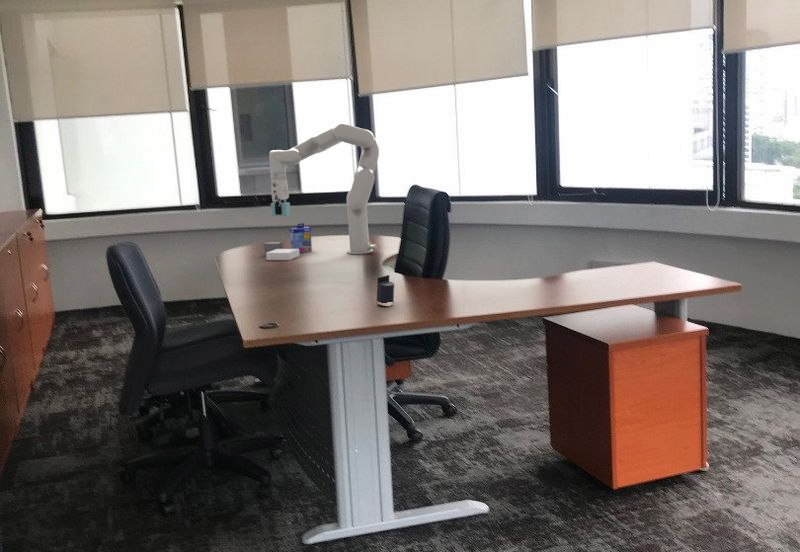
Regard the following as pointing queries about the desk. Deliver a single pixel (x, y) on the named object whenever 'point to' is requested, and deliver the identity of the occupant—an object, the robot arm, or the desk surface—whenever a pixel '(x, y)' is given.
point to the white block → (282, 254)
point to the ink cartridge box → (301, 238)
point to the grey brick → (272, 246)
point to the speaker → (385, 290)
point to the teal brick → (284, 207)
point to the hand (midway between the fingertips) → (280, 213)
